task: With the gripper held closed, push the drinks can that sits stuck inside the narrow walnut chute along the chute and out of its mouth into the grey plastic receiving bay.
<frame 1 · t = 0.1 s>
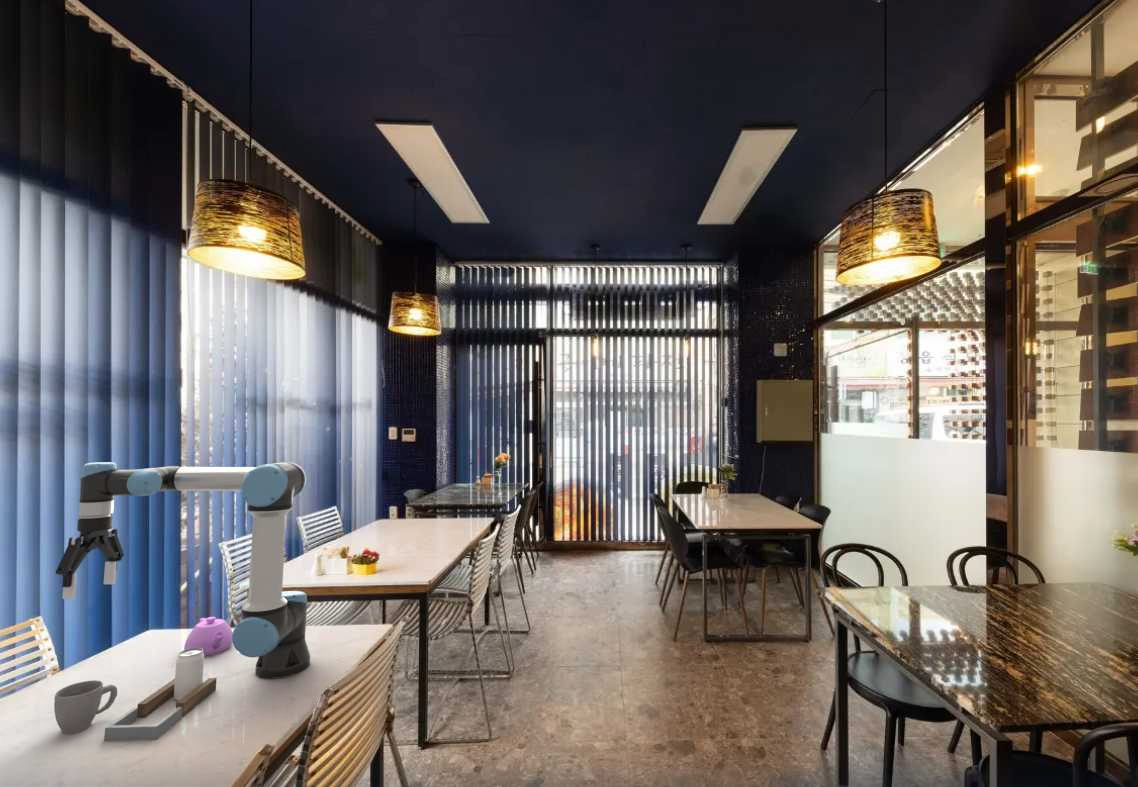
hand: (89, 591, 150), 28 cm above the table, fingers open, 13 cm apart
can: (187, 696, 146), on the table
teapot: (209, 651, 177), on the table
mug: (84, 726, 131), on the table
bay: (144, 729, 130), on the table
chute: (178, 703, 142), on the table
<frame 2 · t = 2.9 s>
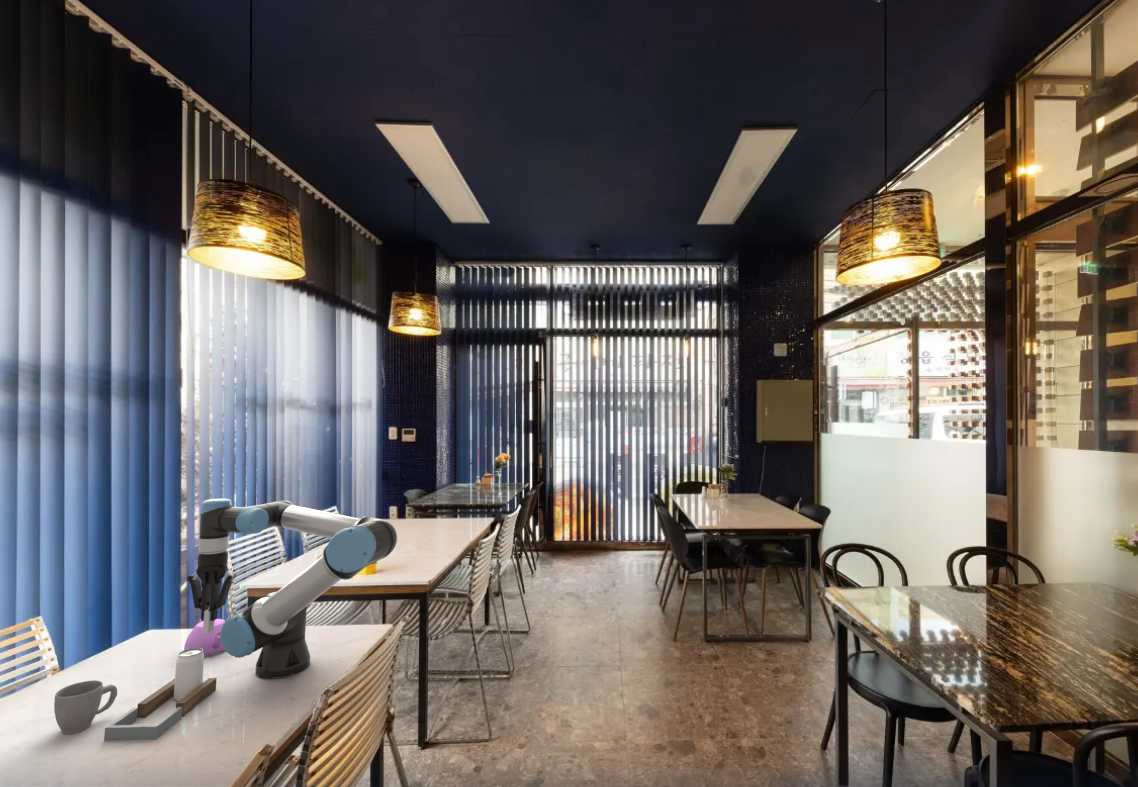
hand: (208, 631, 155), 15 cm above the table, fingers closed
nothing on the table moved.
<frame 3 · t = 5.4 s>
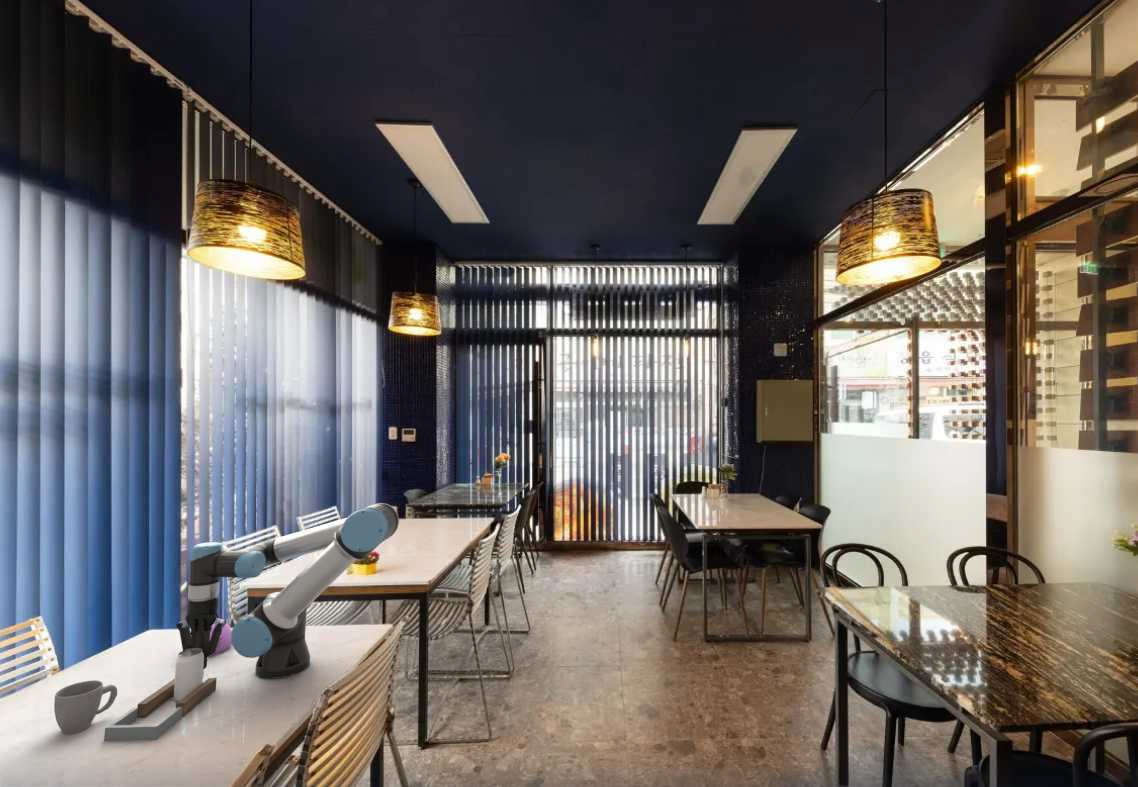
hand: (197, 680, 151), 2 cm above the table, fingers closed
can: (187, 696, 146), on the table, touching gripper
everything else where it was.
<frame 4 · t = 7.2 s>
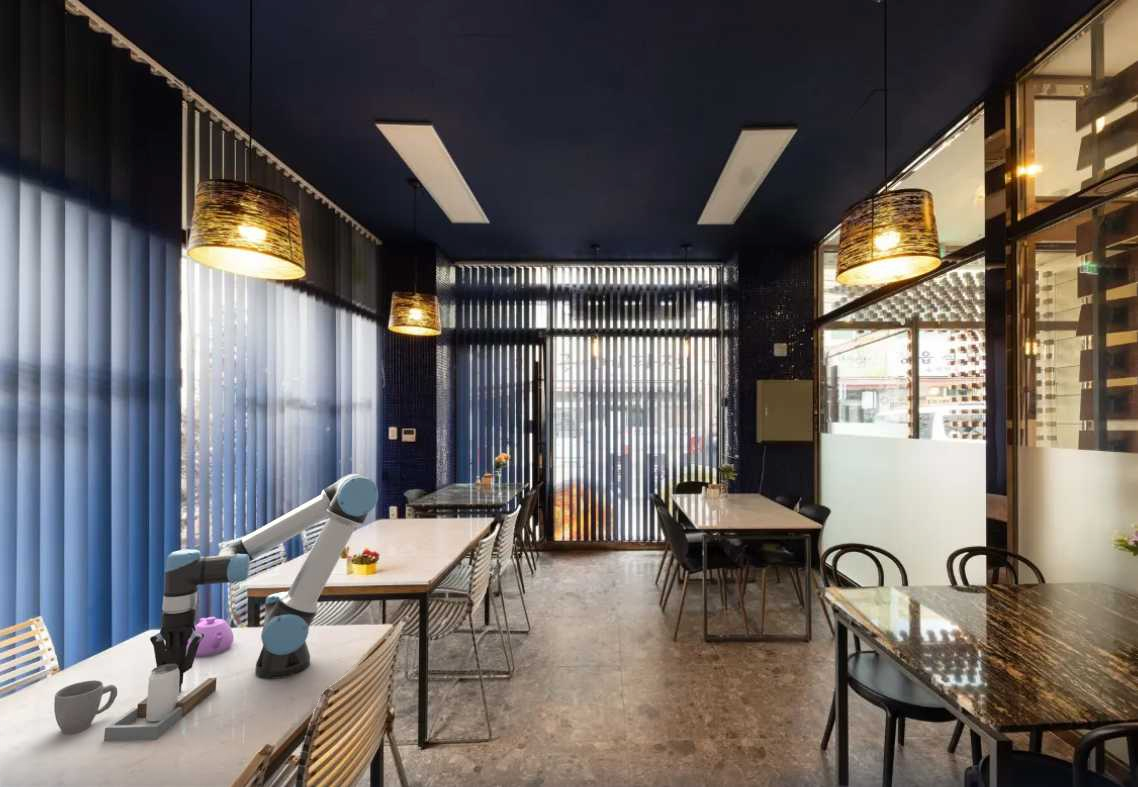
hand: (172, 698, 141), 2 cm above the table, fingers closed
can: (161, 716, 136), on the table, touching gripper
everything else where it was.
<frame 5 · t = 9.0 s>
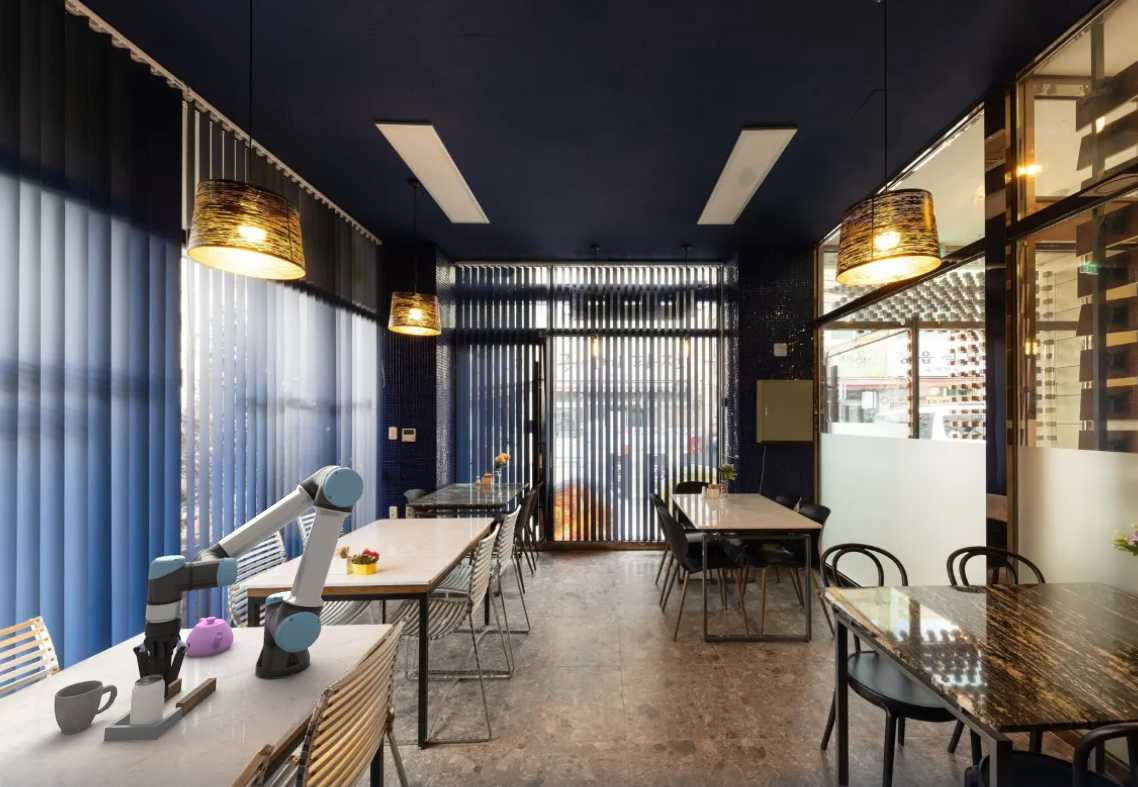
hand: (157, 711, 135), 2 cm above the table, fingers closed
can: (145, 730, 130), on the table, touching gripper
everything else where it was.
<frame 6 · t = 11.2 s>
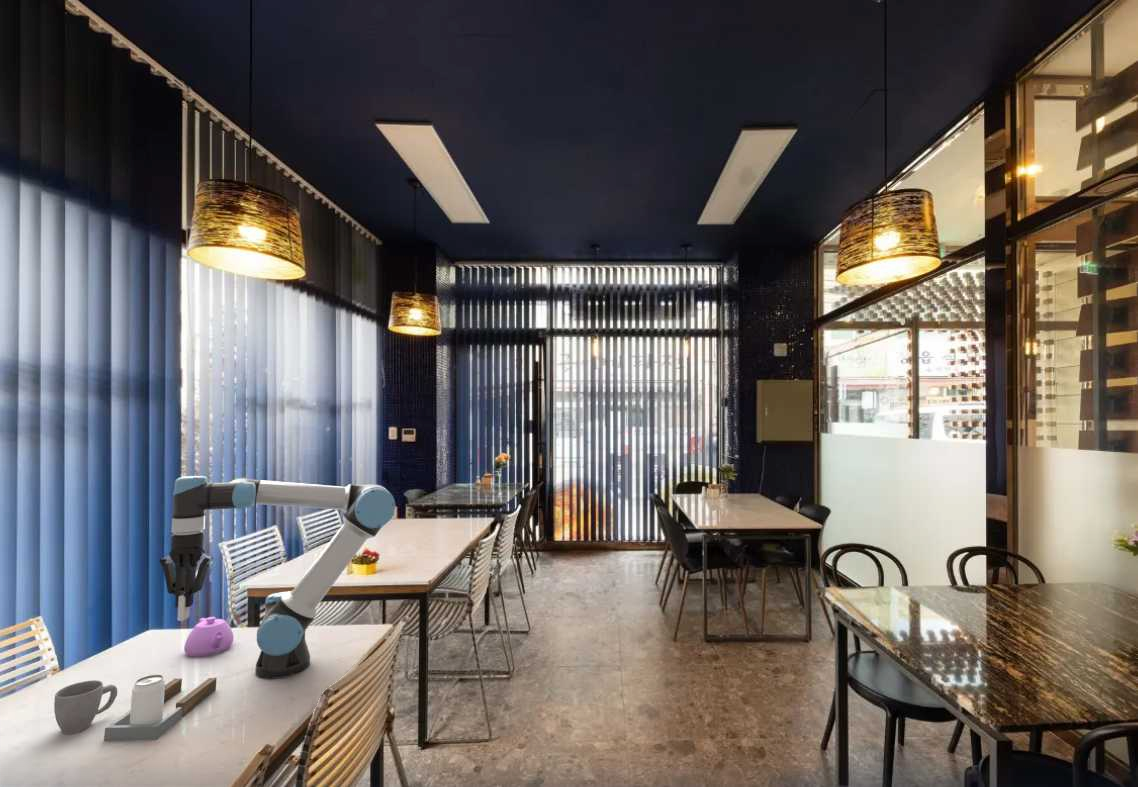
hand: (183, 618, 144), 22 cm above the table, fingers closed
can: (145, 730, 130), on the table
everything else where it was.
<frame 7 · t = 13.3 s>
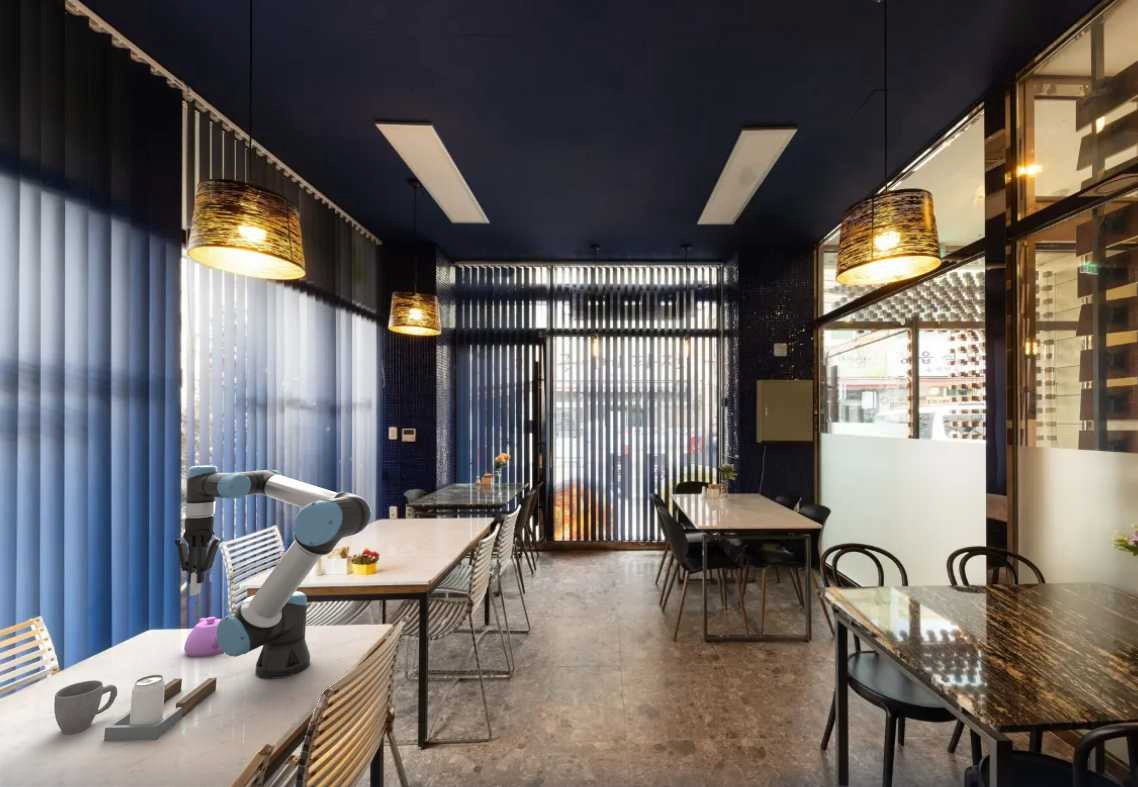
hand: (195, 593, 160), 24 cm above the table, fingers closed
nothing on the table moved.
at the end: can inside the target area (0.7 cm from its centre), on the table; can tilted 0°; can moved 16.6 cm from its start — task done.
